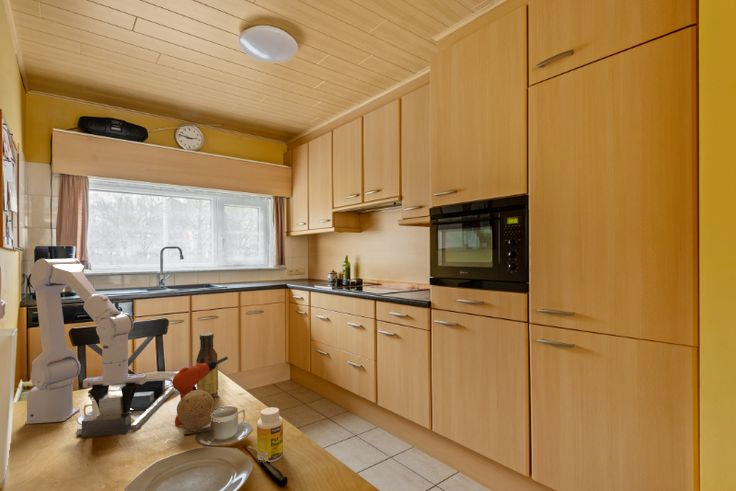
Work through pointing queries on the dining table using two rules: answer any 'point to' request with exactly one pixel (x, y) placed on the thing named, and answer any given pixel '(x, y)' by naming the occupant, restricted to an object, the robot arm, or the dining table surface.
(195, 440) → the dining table surface
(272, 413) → the supplement bottle
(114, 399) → the steel block
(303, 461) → the dining table surface
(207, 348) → the sauce bottle
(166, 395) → the vise base
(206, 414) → the natural sponge
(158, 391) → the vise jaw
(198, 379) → the toy drill
